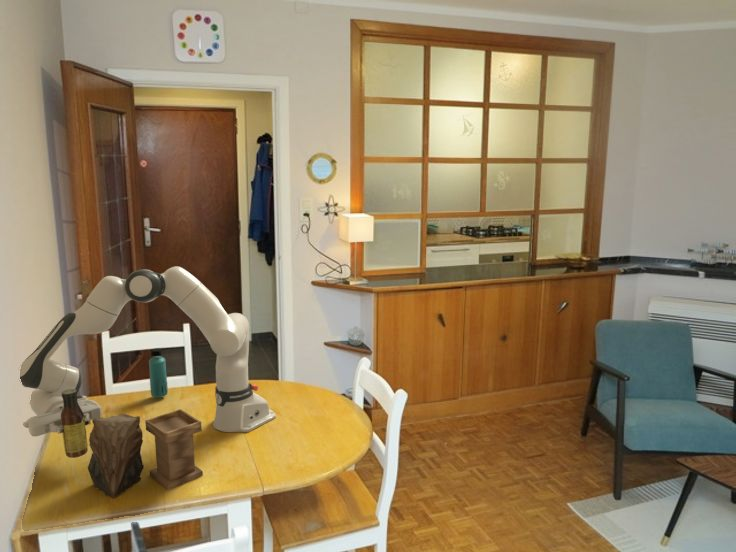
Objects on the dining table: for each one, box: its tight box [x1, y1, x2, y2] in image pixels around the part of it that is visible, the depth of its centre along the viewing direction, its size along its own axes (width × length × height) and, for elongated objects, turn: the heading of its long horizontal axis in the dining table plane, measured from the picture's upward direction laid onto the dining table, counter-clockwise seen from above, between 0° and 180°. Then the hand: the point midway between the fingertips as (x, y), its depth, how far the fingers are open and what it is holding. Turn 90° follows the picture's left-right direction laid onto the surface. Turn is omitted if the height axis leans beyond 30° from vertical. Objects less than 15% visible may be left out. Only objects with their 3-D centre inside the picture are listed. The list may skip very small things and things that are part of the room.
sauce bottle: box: [61, 389, 88, 459], centre depth 176 cm, size 7×6×20 cm
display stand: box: [144, 409, 204, 491], centre depth 176 cm, size 11×12×18 cm
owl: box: [87, 413, 144, 499], centre depth 172 cm, size 13×13×20 cm
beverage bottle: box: [148, 348, 169, 398], centre depth 232 cm, size 6×7×20 cm
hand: (74, 426), depth 176 cm, fingers closed on sauce bottle, 6 cm apart
